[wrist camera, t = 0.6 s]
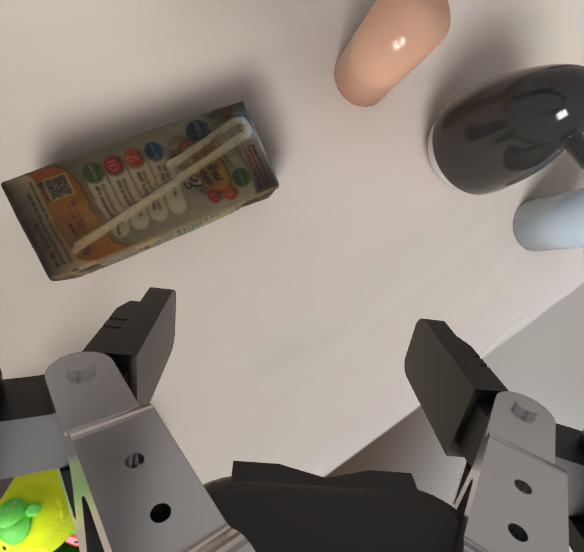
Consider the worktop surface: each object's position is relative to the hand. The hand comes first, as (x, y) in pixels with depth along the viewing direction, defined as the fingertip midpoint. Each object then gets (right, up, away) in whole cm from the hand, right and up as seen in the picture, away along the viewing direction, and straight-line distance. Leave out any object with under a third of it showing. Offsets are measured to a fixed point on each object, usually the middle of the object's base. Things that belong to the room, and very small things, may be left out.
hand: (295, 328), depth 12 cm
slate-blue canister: (+28, +8, +31) cm, 43 cm away
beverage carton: (-12, +9, +22) cm, 27 cm away
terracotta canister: (+7, +22, +26) cm, 35 cm away
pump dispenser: (+17, +15, +29) cm, 37 cm away
